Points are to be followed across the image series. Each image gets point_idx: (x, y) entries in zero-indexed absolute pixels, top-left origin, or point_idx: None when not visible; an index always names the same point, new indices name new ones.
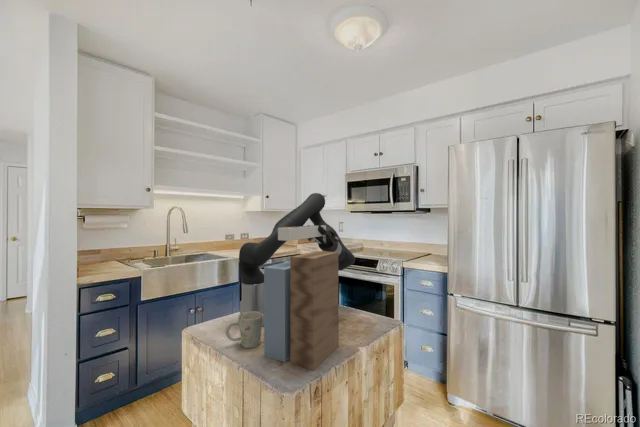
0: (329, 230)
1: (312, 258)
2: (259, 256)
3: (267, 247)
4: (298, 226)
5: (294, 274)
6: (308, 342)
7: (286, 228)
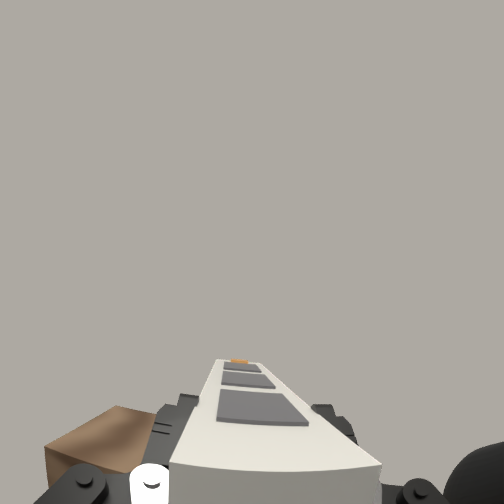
0: (89, 466)
1: (118, 406)
2: (449, 493)
3: (480, 479)
4: (257, 374)
5: None
6: None
7: (226, 360)
